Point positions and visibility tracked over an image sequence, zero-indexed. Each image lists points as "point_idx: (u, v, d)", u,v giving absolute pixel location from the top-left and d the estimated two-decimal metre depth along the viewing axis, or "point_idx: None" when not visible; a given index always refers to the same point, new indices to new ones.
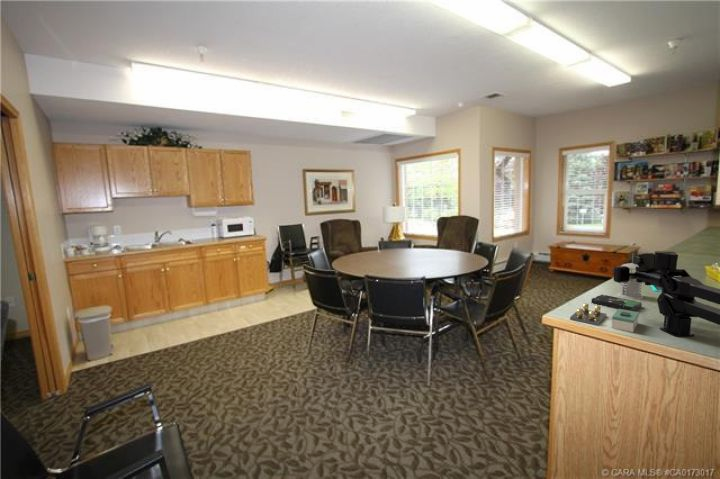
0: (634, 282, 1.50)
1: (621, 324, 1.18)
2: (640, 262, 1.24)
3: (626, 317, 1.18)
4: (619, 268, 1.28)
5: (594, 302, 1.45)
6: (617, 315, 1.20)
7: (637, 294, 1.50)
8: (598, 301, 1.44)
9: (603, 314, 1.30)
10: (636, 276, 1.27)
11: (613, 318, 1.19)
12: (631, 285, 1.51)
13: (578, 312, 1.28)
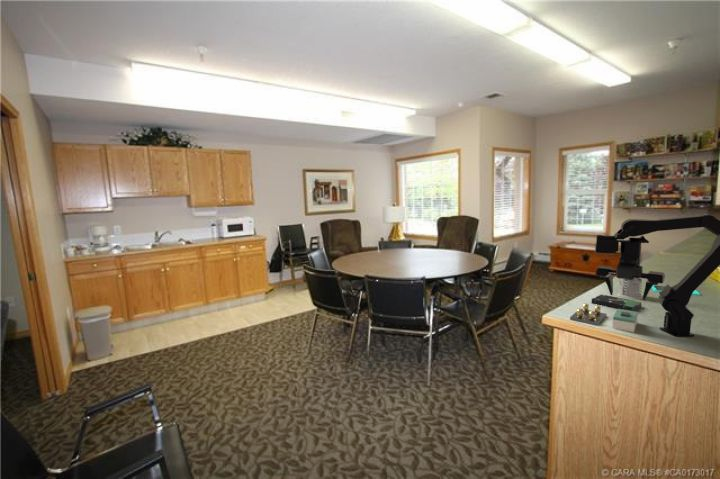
0: (634, 282, 1.50)
1: (622, 325, 1.18)
2: None
3: (627, 317, 1.18)
4: (661, 276, 1.11)
5: (594, 302, 1.45)
6: (618, 315, 1.20)
7: (637, 294, 1.50)
8: (598, 301, 1.44)
9: (603, 314, 1.30)
10: None
11: (614, 318, 1.19)
12: (631, 285, 1.51)
13: (578, 312, 1.28)
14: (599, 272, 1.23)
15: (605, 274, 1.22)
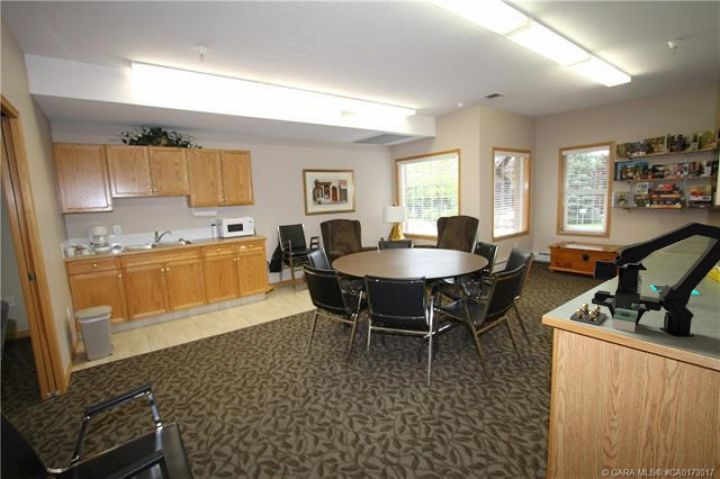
0: None
1: (622, 324, 1.18)
2: None
3: (627, 316, 1.18)
4: (658, 304, 1.12)
5: (594, 302, 1.45)
6: (618, 315, 1.20)
7: None
8: (598, 301, 1.44)
9: (603, 314, 1.30)
10: None
11: (614, 318, 1.19)
12: None
13: (578, 312, 1.28)
14: (597, 297, 1.24)
15: (603, 299, 1.23)
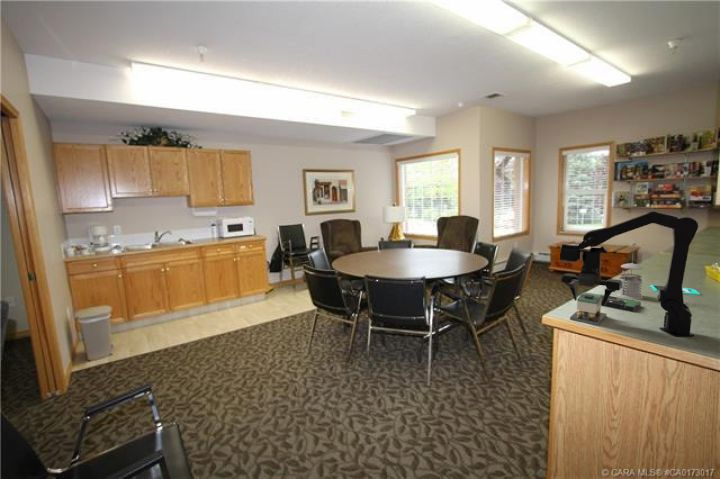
0: (634, 282, 1.50)
1: (585, 306, 1.25)
2: None
3: (590, 299, 1.26)
4: (617, 284, 1.20)
5: None
6: (582, 297, 1.28)
7: (637, 294, 1.50)
8: None
9: (603, 314, 1.30)
10: None
11: (578, 300, 1.27)
12: (631, 285, 1.51)
13: (578, 312, 1.28)
14: (563, 279, 1.32)
15: (569, 281, 1.31)
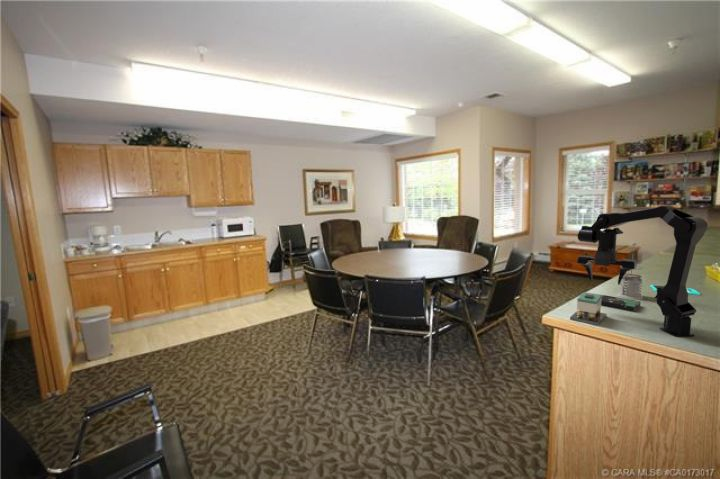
0: (634, 282, 1.50)
1: (585, 306, 1.25)
2: None
3: (590, 299, 1.26)
4: (632, 263, 1.25)
5: None
6: (582, 297, 1.28)
7: (637, 294, 1.50)
8: None
9: (603, 314, 1.30)
10: None
11: (578, 300, 1.27)
12: (631, 285, 1.51)
13: (578, 312, 1.28)
14: (579, 260, 1.38)
15: (585, 262, 1.36)
